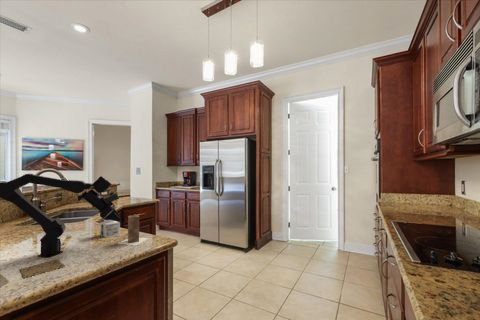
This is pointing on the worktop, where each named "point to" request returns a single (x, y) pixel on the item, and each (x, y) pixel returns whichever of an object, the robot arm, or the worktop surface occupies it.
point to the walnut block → (133, 228)
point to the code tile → (133, 242)
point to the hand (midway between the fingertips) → (120, 219)
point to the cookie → (41, 268)
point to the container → (109, 228)
